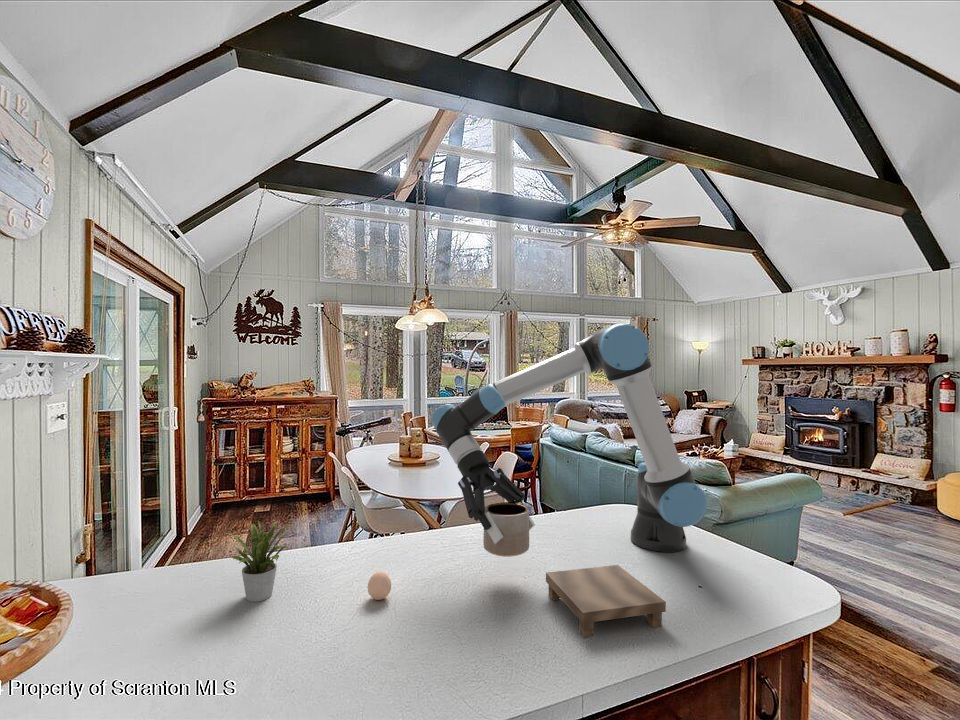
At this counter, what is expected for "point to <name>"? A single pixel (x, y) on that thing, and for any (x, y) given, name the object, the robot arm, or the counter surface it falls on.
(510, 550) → the planter
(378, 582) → the egg
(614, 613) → the plant stand
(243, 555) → the house plant
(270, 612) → the counter surface
